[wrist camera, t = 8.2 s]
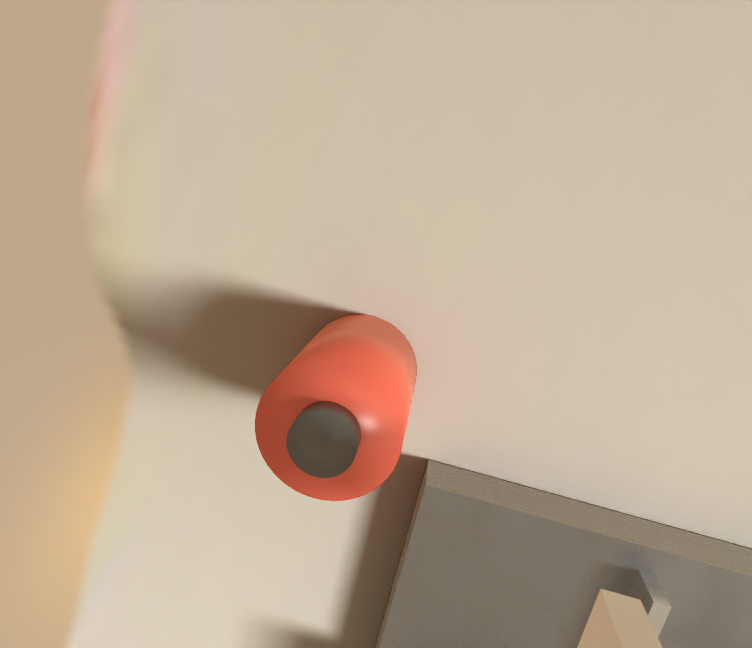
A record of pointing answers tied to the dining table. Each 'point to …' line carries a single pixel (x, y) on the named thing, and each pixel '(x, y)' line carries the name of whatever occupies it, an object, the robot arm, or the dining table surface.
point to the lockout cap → (339, 410)
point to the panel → (553, 571)
